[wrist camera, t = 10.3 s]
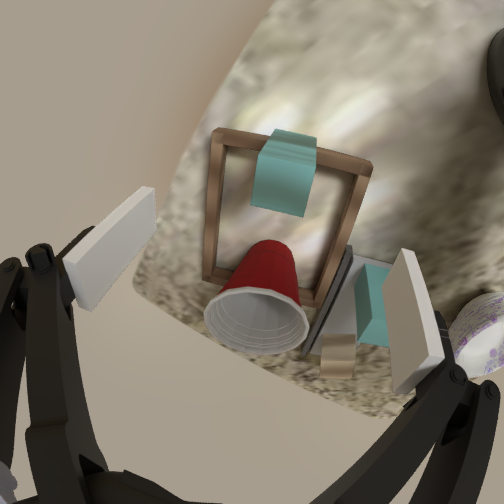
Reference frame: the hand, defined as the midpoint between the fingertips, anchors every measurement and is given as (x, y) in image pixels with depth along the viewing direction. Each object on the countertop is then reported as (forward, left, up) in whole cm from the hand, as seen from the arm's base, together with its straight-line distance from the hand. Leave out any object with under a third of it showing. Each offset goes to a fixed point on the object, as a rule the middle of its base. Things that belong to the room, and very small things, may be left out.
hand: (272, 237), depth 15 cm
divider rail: (+22, +9, -18) cm, 30 cm away
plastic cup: (+15, 0, -19) cm, 24 cm away
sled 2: (+22, +13, -18) cm, 31 cm away
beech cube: (+28, +13, -17) cm, 35 cm away
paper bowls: (+17, +36, -19) cm, 43 cm away
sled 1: (+9, 0, -18) cm, 20 cm away
